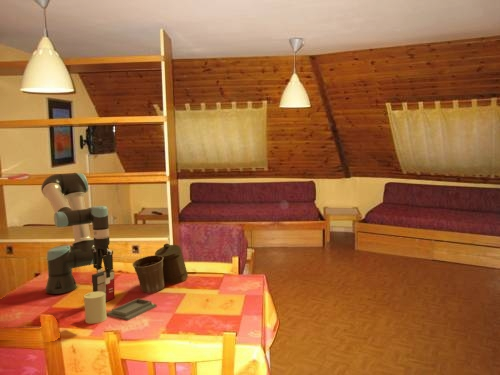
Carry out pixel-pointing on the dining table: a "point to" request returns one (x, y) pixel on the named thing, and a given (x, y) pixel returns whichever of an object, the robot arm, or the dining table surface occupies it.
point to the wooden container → (172, 264)
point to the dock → (132, 309)
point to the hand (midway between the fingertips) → (104, 282)
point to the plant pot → (150, 273)
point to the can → (95, 307)
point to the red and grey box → (101, 286)
